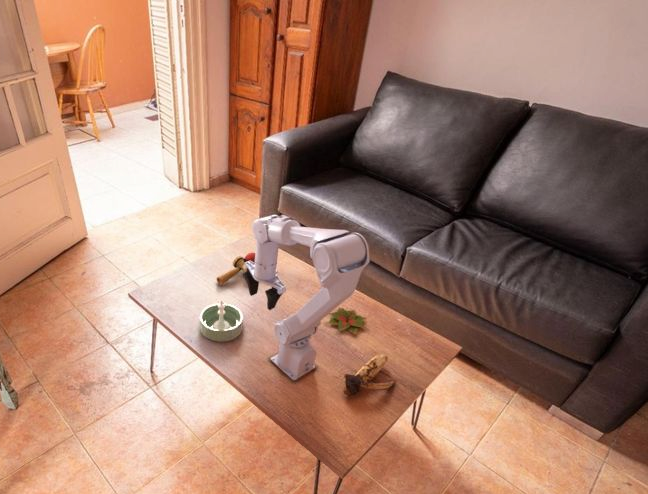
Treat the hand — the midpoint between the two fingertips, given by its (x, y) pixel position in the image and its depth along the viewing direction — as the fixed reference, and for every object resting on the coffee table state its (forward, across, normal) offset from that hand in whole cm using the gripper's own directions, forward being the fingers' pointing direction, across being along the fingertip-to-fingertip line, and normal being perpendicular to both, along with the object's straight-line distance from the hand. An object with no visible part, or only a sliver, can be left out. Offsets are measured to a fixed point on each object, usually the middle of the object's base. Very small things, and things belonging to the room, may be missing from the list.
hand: (262, 301), depth 119 cm
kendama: (+11, +25, -12) cm, 30 cm away
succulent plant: (+10, -13, -23) cm, 29 cm away
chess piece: (+10, +7, +9) cm, 15 cm away
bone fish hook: (+10, -33, -10) cm, 36 cm away
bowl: (+10, +7, +9) cm, 15 cm away
